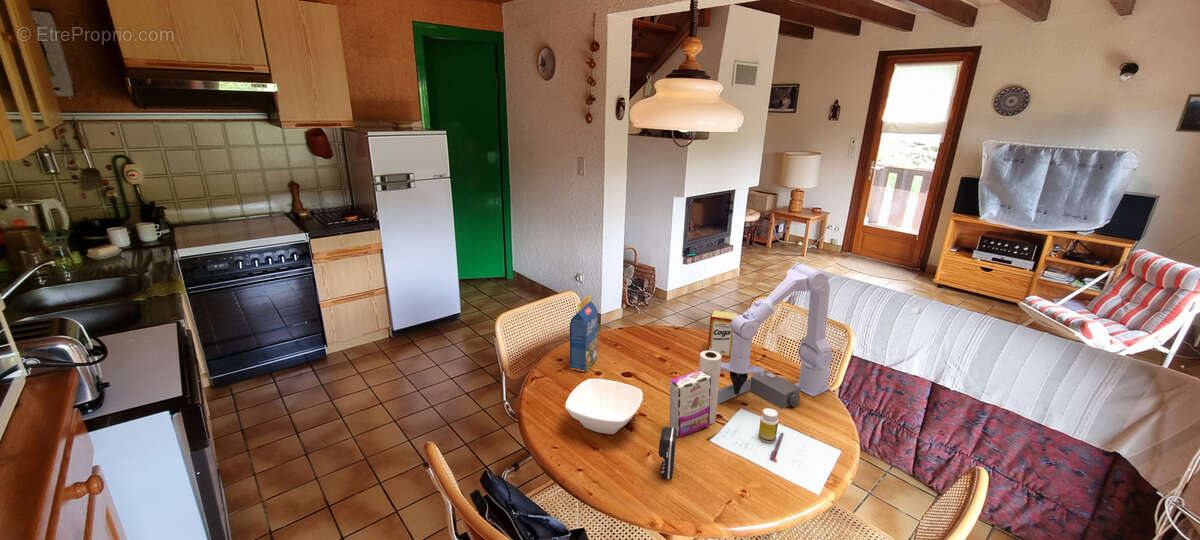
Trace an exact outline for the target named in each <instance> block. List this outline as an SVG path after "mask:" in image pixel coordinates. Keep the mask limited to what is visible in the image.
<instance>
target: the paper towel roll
mask: <svg viewBox="0 0 1200 540" xmlns="http://www.w3.org/2000/svg"><path fill="white" fill-rule="evenodd" d="M722 358H723V357H721V354H719V353H718V352H717V351H715V350H712V349H711V348H710V347H709V350H708V349H707V350H704V351H703V350H702V351H701V352H700V354H699V364H698V370H701V371H703V372H705V373H706V374H707V375H709V376H711V387H710V420H709V425H712V424H714V423H715V422H716V419H717V407H718V402H717V400H718V390H719V389H720V388H719V387H720V380H721V379H720V377H721V371H720V369H721V363H722Z"/></svg>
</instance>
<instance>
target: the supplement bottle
mask: <svg viewBox="0 0 1200 540" xmlns="http://www.w3.org/2000/svg"><path fill="white" fill-rule="evenodd" d="M778 417H779V412H778V411H777V410H776V409H773V408H764V409H763V410H762V415H761V416H760V418H759V419H760V420H759V428H758V435H757V436H758V438H759V440H760V439H761V440H760V441H761V442H764V443H766V444H769V443H770V444H772V443H774V442H775V441H776V440H777V434H778V426H779V419H778Z"/></svg>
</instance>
